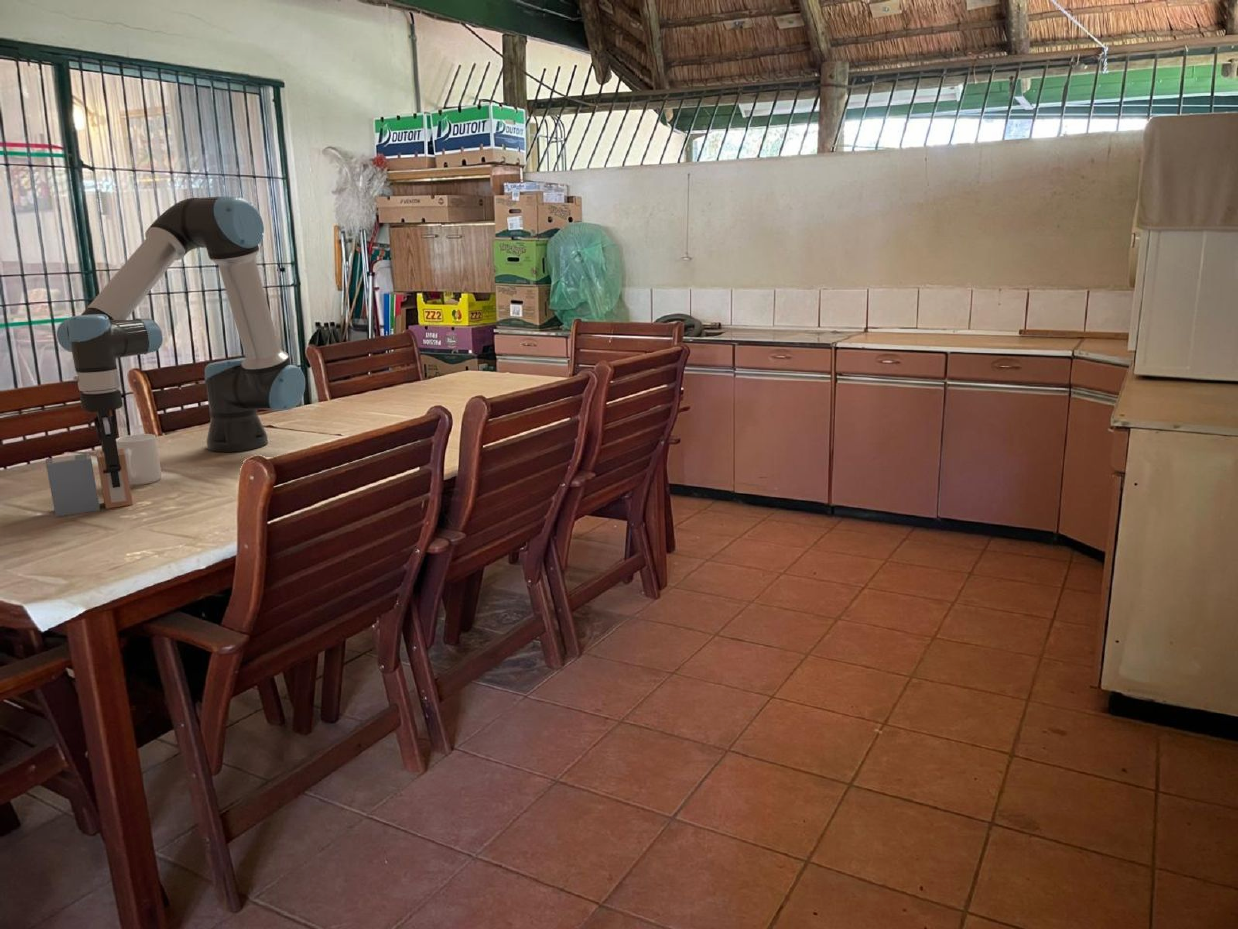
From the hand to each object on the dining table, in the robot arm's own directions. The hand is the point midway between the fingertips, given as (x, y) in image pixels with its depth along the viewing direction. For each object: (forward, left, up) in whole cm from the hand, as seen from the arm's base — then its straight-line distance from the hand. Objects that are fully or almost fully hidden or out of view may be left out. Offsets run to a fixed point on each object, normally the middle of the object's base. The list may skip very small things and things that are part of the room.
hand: (117, 497), depth 197 cm
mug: (-5, -16, -2) cm, 17 cm away
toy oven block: (+8, 0, -1) cm, 8 cm away
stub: (0, 0, -1) cm, 1 cm away
